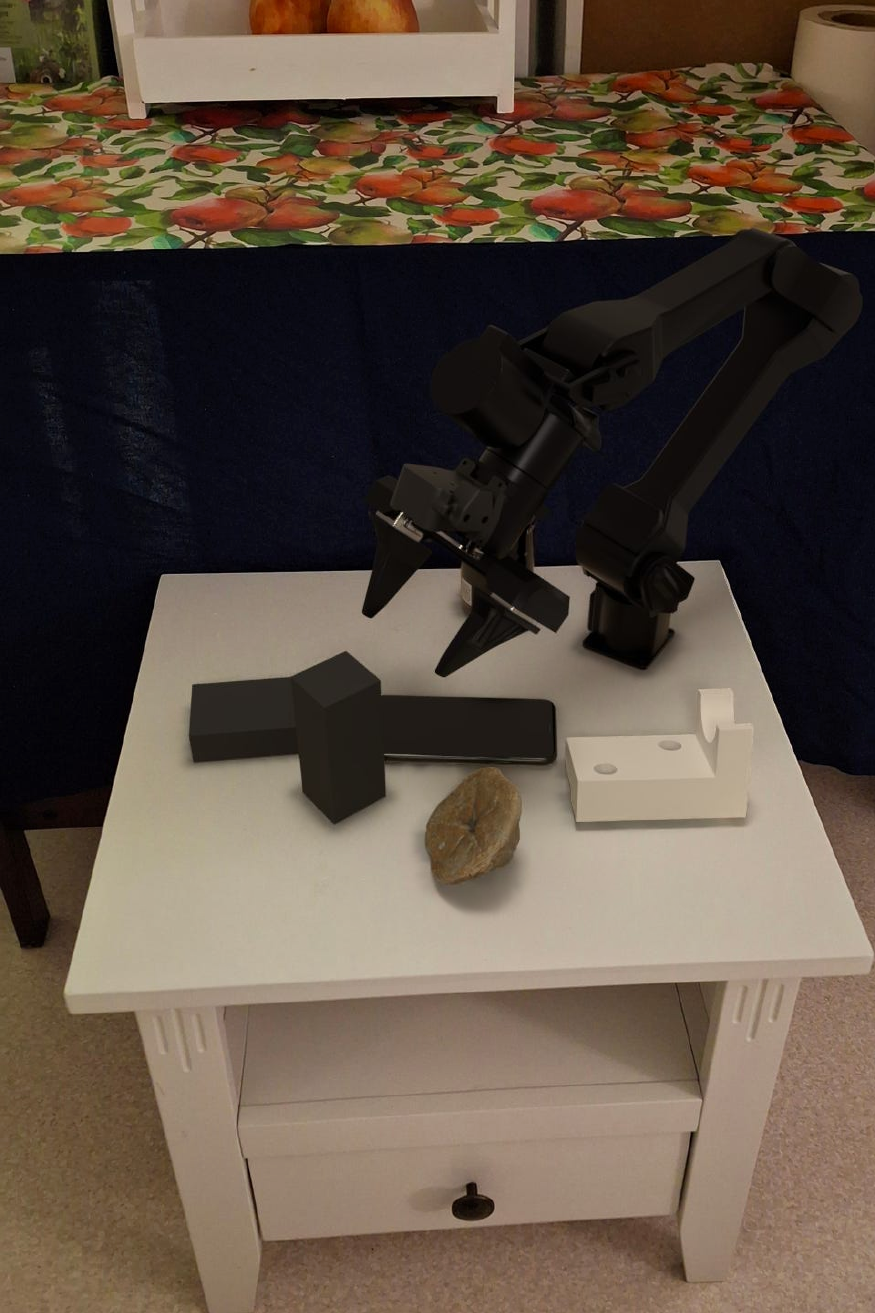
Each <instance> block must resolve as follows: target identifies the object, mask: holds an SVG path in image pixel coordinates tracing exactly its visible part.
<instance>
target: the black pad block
mask: <svg viewBox="0 0 875 1313" xmlns="http://www.w3.org/2000/svg"><path fill="white" fill-rule="evenodd" d="M290 677H291V686H292V695H293V705H294V714H295V724H296V734H297V743H298V753H299V754H298V760H299V761H298V762H299V770H300V781H301V790H302V793H303V794H304V795H305V797H307V799H308V800H309V801H310V802H311V803H313V805H314V806H316V808H317V809H318V810H320V812H321V813H322V814H323V815H324V816H325V817H326V818H327V819H328V820H329V821H330V822H331V823H332V824H333V825H336V824H338V823H339V822H342V821H343V820H345V819H347V818H349V817H350V816H352V815H354V814H356V813H358V812H360V811H361V810H363V809H365V808H367V807H369V806H371V805H373V804H374V803H376V802H378V801H380V800H382V799H383V798H385V797H386V796H387V790H386V789H387V788H386V767H385V766H386V764H385V761H384V742H383V720H382V698H381V695H382V680H381V679H380V678H379V677H378V676H376V675H375V674H374V673H373V672H372V671H370V669H369V668H367V667H366V666H365V665H364V664H362V663H361V662H360V661H359V660H358V659H356V658H355V657H354V656H353V655H352V654H351V653H350V652H348V651H347V650H345V651H342V652H340V653H338V654H336V655H333V656H331V657H330V658H327V659H325V660H323V661H320V662H319V663H317V664H315V665H312V666H310V667H308V668H306V669H304V670H301V671H300V672H296V673H295V674H293V675H291V676H290Z"/></svg>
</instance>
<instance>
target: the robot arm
mask: <svg viewBox="0 0 875 1313" xmlns="http://www.w3.org/2000/svg"><path fill="white" fill-rule="evenodd" d="M862 308H863V296H862V294H861V292H860V283H859V280H858V278H857V277H856V275H855V274H852V273H850V272H847V271H844V270H841V269H838V268H836V267H833V266H830V265H828V264H824V263H821V262H819V261H817V260H816V259H814V258H812V257H811V256H810V255H808V254H807V253H806V252H804V251H803V250H802V249H801V248H800V247H798V246H797V245H796V243H794V241H793V240H790V239H788V238H786V237H785V238H784V237H782V236H779V235H776V234H773V233H770V232H767V231H765V230H762V229H759V228H755V227H750V228H743V229H739V230H738V231H737V232H735V233H734V234H733V236H732V237H731V238H730V240H729V241H728V242H727V244H724V245H723V246H721V247H719V248H717V249H716V250H714V251H712V252H710V253H709V254H707V255H705V256H704V257H702V258H700V259H698V260H696V261H695V262H693V263H690V264H689V265H688V266H686V267H683V269H681V270H679V271H677V272H676V273H674V274H672V275H671V276H669V277H667V278H665V279H663V280H662V281H660V282H658V283H656V284H655V285H653V286H651V287H650V288H648V289H646V290H644V291H643V292H640V293H639V294H637V295H634V296H632V297H629V298H625V299H616V300H615V299H614V300H613V299H612V300H598V301H597V300H596V301H593V302H590V303H587V304H583V305H581V306H578V307H575V308H572V309H569V310H566V311H565V312H562V313H561V314H560V315H558V316H556V317H555V318H554V319H553V320H552V321H551V322H550V323H549V325H548V326H546V327H544V328H542V329H541V330H539V331H537V332H534V333H533V334H530V335H529V336H527V337H525V338H523V339H521V340H519V341H517V339H515V337H513V336H512V335H511V334H510V333H509V332H506V331H505V330H503V329H501V328H499V327H497V326H496V325H495V326H494V325H493V324H490V325H487V327H486V329H485V331H484V332H483V333H482V334H481V336H480V337H477V338H471V339H468V340H465V341H463V342H461V343H459V344H458V345H456V346H454V347H453V348H452V349H451V350H449V352H448V353H444V354H443V355H442V356H441V357H440V359H439V360H438V362H437V364H436V366H435V367H434V370H433V372H432V376H431V379H430V386H429V391H430V398H431V399H432V402H433V404H434V406H436V408H437V409H438V410H439V411H441V412H442V413H443V414H444V415H446V416H447V417H448V418H449V419H450V420H452V421H453V422H454V423H456V424H457V426H460V427H461V428H462V429H464V431H466V432H467V433H468V434H470V435H471V436H472V437H474V438H475V439H476V440H478V441H479V442H480V443H481V444H483V446H486V449H484V451H483V453H482V454H481V456H480V458H479V459H477V458H476V457H474V456H473V455H471V454H468V455H467V456H466V457H464V458H463V459H461V461H460V462H459V464H458V466H456V468H455V469H453V470H450V469H445V468H443V467H438V466H431V465H430V466H429V465H423V464H413V463H412V464H411V463H404V464H403V466H402V468H401V471H400V474H399V477H398V479H396V478H395V477H393V476H391V474H387V475H386V476H383V477H381V478H378V479H376V480H375V481H374V482H373V484H372V485H371V487H370V489H369V490H368V492H367V493H366V495H365V496H364V498H363V499H362V500H363V501H364V502H365V503H366V504H368V506H371V507H372V508H373V509H375V510H376V512H375V513H374V512H372V511H371V510H369V511H368V515H367V516H368V519H369V520H370V521H372V523H373V527H374V532H375V536H376V550H375V556H374V562H373V565H372V569H371V573H370V577H369V581H368V584H367V589H366V593H365V595H364V596H365V597H364V601H363V604H362V609H361V614H362V615H363V616H364V617H365V618H368V619H373V618H374V617H375V616H377V615H378V614H379V613H380V612H381V611H382V610H383V609H384V608H385V607H386V606H388V604H389V603H390V602H391V600H392V599H393V598H394V597H395V596H396V595H397V594H398V593H399V591H400V590H401V589H402V588H403V587H404V586H405V585H406V583H407V582H408V581H409V580H410V579H411V578H412V577H413V575H415V573H416V572H417V571H418V570H419V569H420V568H421V566H422V565H423V564H424V563H425V562H426V561H427V560H428V558H429V557H430V556H431V555H432V554H433V551H432V550H431V549H429V548H428V547H427V546H426V545H424V544H423V543H421V541H422V540H423V541H425V542H427V543H431V542H434V543H436V545H438V546H440V547H441V548H442V549H444V550H445V551H447V552H448V553H449V554H451V555H452V556H453V557H455V558H457V559H458V560H460V562H461V561H462V562H464V563H465V564H467V565H468V566H469V567H471V568H472V569H474V570H475V571H477V572H478V573H479V574H481V575H482V576H484V577H485V578H486V579H487V589H489V590H490V591H491V592H493V593H492V594H491V596H489V595H488V594H486V593H485V592H483V591H481V590H480V589H478V588H476V587H475V588H474V592H473V602H472V610H471V612H469V614H468V615H467V617H466V618H465V620H464V622H463V623H462V624H461V626H460V628H459V629H458V631H457V632H456V633H455V635H454V636H453V638H452V640H451V641H450V642H449V644H448V646H447V647H446V649H445V650H444V651H443V653H442V655H441V657H440V659H439V661H438V663H437V664H436V667H435V668H434V674H436V675H437V676H438V677H441V678H443V679H444V678H447V677H448V676H450V675H452V674H454V673H455V672H457V671H458V670H460V669H461V668H463V667H464V666H466V665H468V664H470V663H471V662H473V661H474V660H476V659H478V658H479V657H481V656H483V655H485V654H486V653H488V652H489V651H491V650H493V649H494V648H496V647H499V646H500V645H502V644H504V643H507V642H508V641H510V640H512V639H515V638H517V637H518V636H521V635H523V634H524V633H527V632H531V633H532V634H534V635H538V634H539V632H540V631H541V628H540V627H539V626H537V625H538V624H540V625H541V626H543V627H545V628H546V629H548V630H550V631H551V632H552V633H555V634H557V633H558V631H559V630H560V628H561V626H562V625H563V624H564V622H565V621H566V620H567V618H568V616H569V615H570V614H569V613H570V601H571V600H570V599H571V596H570V595H568V594H567V593H565V592H564V591H562V590H561V589H560V588H558V587H556V586H555V585H554V584H552V583H550V582H548V580H546V579H545V578H543V577H542V576H540V575H539V574H537V573H535V571H534V572H532V571H531V570H529V569H528V568H526V567H525V566H523V565H522V564H521V563H519V562H518V561H516V560H517V559H518V557H519V555H517V554H516V553H514V552H513V551H511V549H512V547H513V546H514V544H515V543H516V541H517V540H518V538H519V537H520V535H521V534H522V532H523V531H524V530H525V528H526V527H527V525H528V524H529V522H530V521H531V519H532V518H533V516H535V517H536V519H537V520H540V521H541V522H544V521H545V519H546V518H547V516H548V515H549V513H550V512H551V509H549V508H548V507H547V506H545V505H544V504H543V503H544V501H545V500H546V499H547V497H548V495H549V494H550V492H551V491H552V489H553V488H554V487H555V485H556V484H557V482H558V481H559V478H561V476H562V475H563V473H564V471H565V470H566V469H567V467H568V466H569V464H570V462H571V461H572V460H573V458H574V457H575V456H576V454H577V452H578V451H579V449H580V448H581V446H584V447H586V448H587V449H589V450H592V451H593V452H599V451H600V450H601V448H602V436H601V432H600V429H599V420H600V416H599V415H598V414H597V413H595V412H594V411H591V410H590V409H588V408H592V407H594V408H596V409H598V410H600V411H603V412H606V413H608V412H609V413H610V412H614V411H616V410H619V409H620V408H622V407H624V406H625V405H626V404H628V403H629V402H630V401H631V400H633V399H634V398H635V397H636V396H638V395H639V394H640V393H642V391H643V390H644V389H646V388H647V387H648V386H649V385H650V384H652V383H653V382H654V381H655V379H656V377H657V375H658V372H659V369H660V367H661V364H662V360H663V359H665V357H667V356H669V355H670V354H671V353H672V352H674V351H676V349H678V348H680V347H682V346H683V345H685V344H687V343H688V342H691V340H693V339H695V338H696V337H698V336H699V335H701V334H703V333H705V332H707V331H708V330H710V329H711V328H713V327H714V326H715V327H716V325H718V324H720V323H721V322H723V321H724V320H726V319H728V318H730V317H732V316H733V315H734V314H736V313H738V312H740V311H741V310H743V320H742V332H741V333H742V334H741V338H740V340H739V342H738V344H737V345H736V347H735V348H734V350H733V351H731V353H730V355H729V356H728V358H727V359H726V361H725V362H724V364H723V365H722V366H721V367H720V369H719V370H718V372H717V373H715V376H714V377H713V379H712V380H711V381H710V383H709V384H708V385H707V387H706V388H705V390H704V391H703V392H702V393H701V395H700V397H698V399H697V401H696V402H695V404H694V405H693V407H691V409H690V411H689V412H688V413H687V415H686V416H685V418H684V419H683V421H682V422H681V423H680V425H678V427H677V428H676V430H675V431H674V433H673V434H672V435H671V437H670V438H669V440H668V441H667V443H666V444H665V445H664V446H663V448H662V450H661V451H660V452H659V453H658V455H657V456H656V458H655V459H654V461H653V462H652V464H651V465H650V466H649V467H648V469H647V470H646V472H645V473H644V474H643V476H642V477H640V479H638V480H636V481H634V482H632V483H630V484H627V485H626V486H624V487H622V486H621V485H618V484H617V483H616V482H611V483H610V484H608V485H607V486H606V487H604V488H603V490H601V493H600V495H599V497H598V498H597V500H596V502H595V503H594V505H593V506H592V507H591V508H590V509H589V511H587V512H586V513H585V514H584V515H583V516H582V517H581V522H582V523H581V525H580V526H579V528H578V529H577V531H576V533H575V536H574V541H573V542H574V545H575V551H574V555H575V560H576V563H577V564H578V566H579V567H581V569H582V572H583V575H585V576H586V577H588V578H591V579H593V580H594V581H596V583H595V587H594V590H593V591H591V593H590V594H589V602H588V613H587V624H586V629H587V631H588V632H590V633H589V634H588V635H587V636H585V638H584V639H583V640H582V648H583V649H585V650H588V651H591V652H593V653H595V654H598V655H600V656H604V657H606V658H608V659H612V660H614V661H617V662H619V663H622V664H625V665H627V666H630V667H632V668H634V669H637V670H641V671H645V670H648V669H649V668H650V666H652V664H653V663H654V662H655V661H656V659H657V658H658V657H659V656H660V655H661V653H662V652H663V651H664V649H666V647H667V646H668V645H669V643H671V641H672V640H673V639H674V638H675V636H676V630H675V629H673V628H671V627H670V623H671V622H670V621H671V616H672V614H675V613H676V612H678V609H679V605H680V603H682V602H684V601H686V600H687V599H688V598H689V595H690V593H691V590H692V589H693V588H692V587H693V585H694V582H695V579H696V578H695V576H694V575H692V573H690V572H688V571H687V570H686V569H684V568H683V567H682V566H681V565H680V564H678V562H679V560H680V558H681V557H682V555H683V554H684V552H685V549H686V544H687V543H686V542H687V531H688V522H689V521H688V520H689V514H690V512H691V510H692V509H693V508H694V506H695V505H696V504H697V502H698V500H699V499H700V498H701V497H702V495H703V494H704V493H705V491H706V490H707V489H708V487H709V485H710V484H711V483H712V481H713V480H714V478H715V477H716V476H717V474H718V473H719V471H720V470H721V469H722V468H723V466H724V465H725V463H726V462H727V461H728V459H729V457H730V456H731V455H732V454H733V452H734V451H735V449H736V448H737V446H738V445H739V444H740V443H741V442H742V440H743V438H744V437H745V436H746V435H747V433H748V431H749V430H750V429H751V427H752V426H753V424H755V422H756V420H757V419H758V418H759V416H761V414H762V412H763V411H764V409H765V408H766V407H767V405H768V404H769V403H770V401H771V400H772V398H773V397H774V396H775V394H776V393H777V392H778V390H779V388H780V387H781V386H782V385H783V383H784V381H786V379H787V378H788V377H789V376H790V374H792V373H794V372H796V371H798V370H801V369H802V368H805V367H806V366H809V365H810V364H813V363H815V362H817V361H819V360H821V359H823V358H825V357H826V356H827V355H828V354H829V353H830V351H831V350H832V349H833V348H834V347H835V346H836V344H837V343H838V342H839V341H840V340H841V339H842V338H843V337H844V335H845V334H846V333H847V332H849V330H851V329H852V328H853V326H855V324H856V323H857V321H858V319H859V317H860V315H861V312H862ZM569 402H570V403H572V405H571V404H570V403H569ZM573 405H576V406H573ZM455 535H457V536H458V537H460V539H461V538H463V539H462V541H461V540H460V542H458V541H457V540H456V539H455ZM475 548H476V549H478V550H479V551H481V552H482V553H483V555H482V556H481V557H480V556H479V555H477V554H476V553H474V552H473V551H474V550H475ZM462 550H463V551H462ZM465 552H466V553H465ZM467 553H468V554H469V555H468V554H467ZM470 555H471V556H472V557H471V556H470ZM473 557H474V558H475V559H477V560H478V561H477V560H475V559H474V558H473Z"/></svg>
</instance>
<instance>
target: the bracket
mask: <svg viewBox="0 0 875 1313" xmlns="http://www.w3.org/2000/svg"><path fill="white" fill-rule="evenodd" d="M734 695H735V693H734V691H733V690H732V688H729V687H728V688H698V689H697V700H696V710H695V711H696V712H695V714H696V715H695V723H694V724H695V725H694V733H690V734H688V733H687V734H654V735H653V734H651V735H650V734H649V735H618V736H617V735H614V736H613V735H612V736H578V737H577V736H576V737H572V736H571V737H565V758H564V762H565V763H564V764H565V765H564V767H565V770H566V774H567V778H568V783H569V786H570V802H571V805H572V810H573V814H574V819H575V822H576V823H577V822H578V823H582V822H583V823H585V822H617V821H619V822H620V821H654V820H656V821H657V820H658V821H659V820H692V819H726V818H727V819H729V818H730V819H731V818H732V819H733V818H746V817H747V808H748V799H749V788H750V780H751V779H750V778H751V768H752V759H753V748H754V740H755V739H754V737H755V727H754V726H753V724H752V722H751V723H750V722H748V723H746V722H745V723H736V721H735V715H734V714H735V713H734V711H735V710H734V697H735V696H734Z"/></svg>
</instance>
